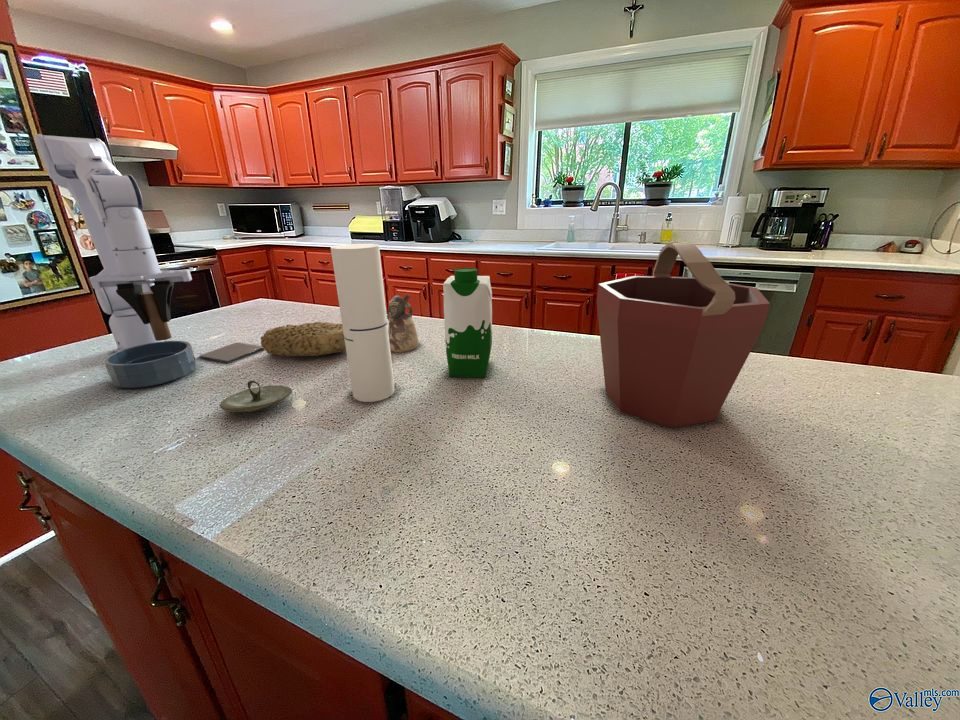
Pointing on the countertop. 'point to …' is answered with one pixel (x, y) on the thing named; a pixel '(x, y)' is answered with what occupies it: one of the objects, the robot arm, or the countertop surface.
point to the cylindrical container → (364, 320)
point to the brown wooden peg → (155, 317)
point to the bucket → (676, 338)
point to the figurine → (401, 325)
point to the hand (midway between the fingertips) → (157, 321)
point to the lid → (255, 398)
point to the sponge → (304, 339)
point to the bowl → (150, 363)
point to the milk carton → (468, 323)
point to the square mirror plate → (231, 352)
